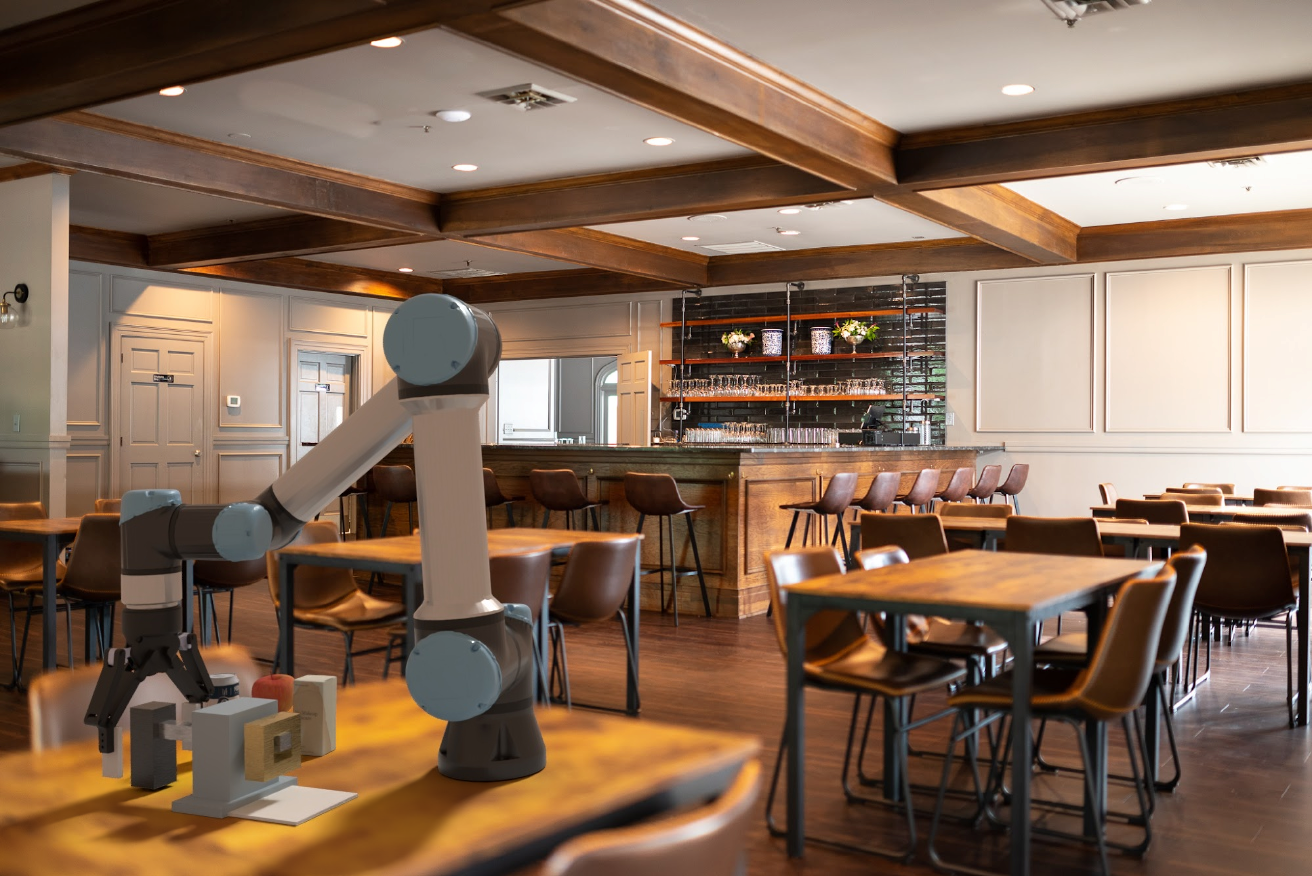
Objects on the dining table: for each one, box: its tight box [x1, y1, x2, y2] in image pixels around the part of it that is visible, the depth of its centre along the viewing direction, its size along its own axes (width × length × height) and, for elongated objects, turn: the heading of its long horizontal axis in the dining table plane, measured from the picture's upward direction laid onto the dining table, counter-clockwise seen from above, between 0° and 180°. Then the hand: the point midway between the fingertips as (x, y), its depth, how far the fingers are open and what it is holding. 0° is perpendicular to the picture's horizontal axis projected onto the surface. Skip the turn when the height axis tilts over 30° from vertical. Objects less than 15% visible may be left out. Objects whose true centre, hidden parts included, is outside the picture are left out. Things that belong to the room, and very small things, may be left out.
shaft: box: [129, 700, 291, 790], centre depth 152 cm, size 24×4×10 cm, turn 68°
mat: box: [227, 785, 359, 826], centre depth 147 cm, size 11×12×1 cm
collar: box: [244, 711, 302, 782], centre depth 148 cm, size 3×7×7 cm, turn 158°
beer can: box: [204, 672, 240, 708], centre depth 170 cm, size 5×5×12 cm
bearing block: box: [171, 696, 299, 819], centre depth 150 cm, size 8×14×12 cm, turn 158°
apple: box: [250, 670, 296, 713], centre depth 195 cm, size 7×7×8 cm
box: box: [292, 674, 338, 757], centre depth 173 cm, size 5×4×11 cm
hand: (153, 763), depth 156 cm, fingers open, 13 cm apart
